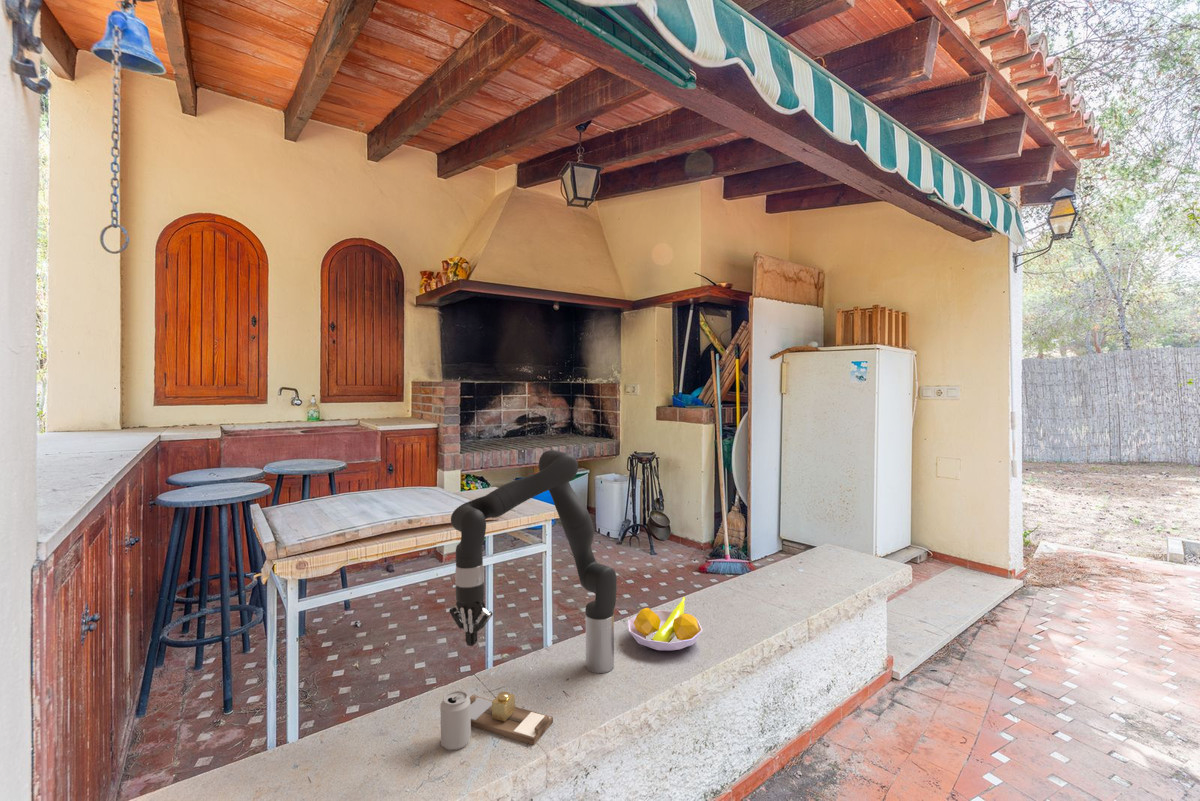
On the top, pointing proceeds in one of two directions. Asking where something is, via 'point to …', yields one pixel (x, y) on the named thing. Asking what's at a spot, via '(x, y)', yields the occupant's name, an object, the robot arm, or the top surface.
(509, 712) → the brass knob
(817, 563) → the top surface
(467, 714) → the can
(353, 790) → the top surface
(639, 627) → the fruit bowl
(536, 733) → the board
